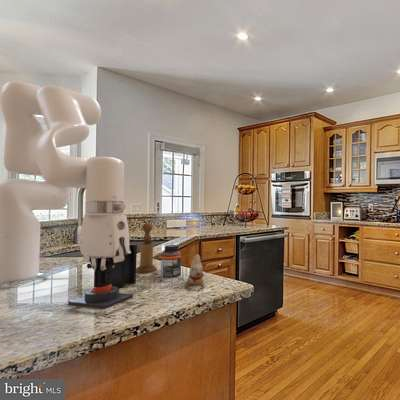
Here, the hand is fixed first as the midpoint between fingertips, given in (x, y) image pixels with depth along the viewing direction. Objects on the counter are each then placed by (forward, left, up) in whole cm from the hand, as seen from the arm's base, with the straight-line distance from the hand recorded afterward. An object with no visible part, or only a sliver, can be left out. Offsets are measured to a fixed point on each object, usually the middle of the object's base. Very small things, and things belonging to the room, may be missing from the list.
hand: (102, 285), depth 67 cm
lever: (-10, +12, +3) cm, 16 cm away
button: (0, 0, -2) cm, 2 cm away
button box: (0, 0, -5) cm, 5 cm away
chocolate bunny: (+12, +20, -5) cm, 24 cm away
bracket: (-6, +12, -5) cm, 14 cm away
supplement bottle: (0, +25, -5) cm, 26 cm away
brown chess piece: (-12, +28, -5) cm, 31 cm away
